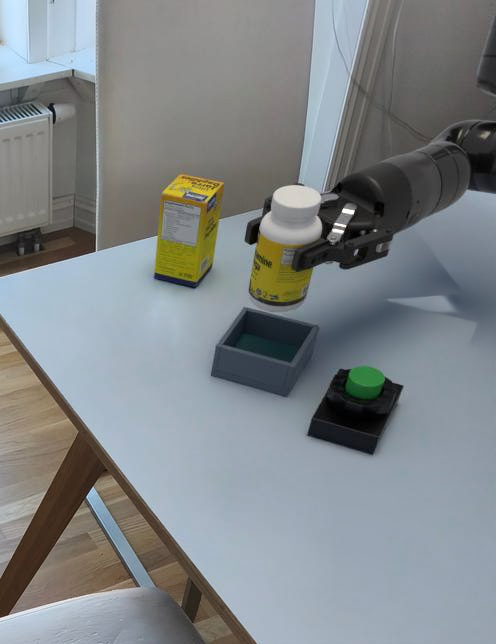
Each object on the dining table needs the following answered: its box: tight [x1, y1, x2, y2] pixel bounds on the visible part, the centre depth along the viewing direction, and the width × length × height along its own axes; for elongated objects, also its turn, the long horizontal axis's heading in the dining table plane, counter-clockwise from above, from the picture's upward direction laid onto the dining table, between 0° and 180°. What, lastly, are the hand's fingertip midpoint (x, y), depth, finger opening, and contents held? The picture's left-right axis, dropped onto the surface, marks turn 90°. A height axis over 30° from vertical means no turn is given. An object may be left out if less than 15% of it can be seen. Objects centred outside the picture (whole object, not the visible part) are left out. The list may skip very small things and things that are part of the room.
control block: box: [306, 368, 404, 455], centre depth 93 cm, size 7×10×4 cm
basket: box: [210, 306, 321, 397], centre depth 100 cm, size 9×9×4 cm
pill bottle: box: [247, 184, 322, 313], centre depth 91 cm, size 6×6×11 cm
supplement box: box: [153, 173, 225, 288], centre depth 110 cm, size 6×6×11 cm
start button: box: [345, 365, 386, 399], centre depth 91 cm, size 4×4×2 cm
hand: (271, 247), depth 89 cm, fingers closed on pill bottle, 6 cm apart
